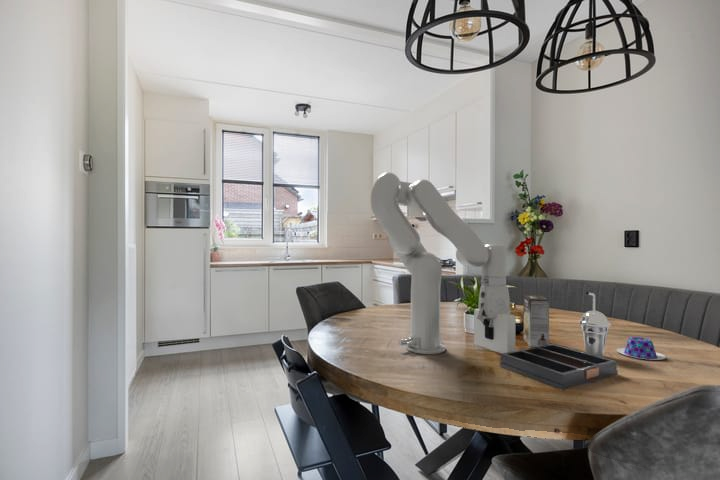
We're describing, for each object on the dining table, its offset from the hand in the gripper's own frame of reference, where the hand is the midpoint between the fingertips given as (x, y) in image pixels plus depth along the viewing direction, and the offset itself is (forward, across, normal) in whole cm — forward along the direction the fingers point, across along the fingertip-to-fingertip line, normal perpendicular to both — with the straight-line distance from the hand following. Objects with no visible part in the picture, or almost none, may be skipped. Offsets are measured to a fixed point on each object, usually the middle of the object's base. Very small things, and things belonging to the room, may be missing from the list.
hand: (493, 337), depth 118 cm
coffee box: (+4, +18, -2) cm, 18 cm away
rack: (+4, 0, -22) cm, 22 cm away
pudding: (+4, +36, -25) cm, 44 cm away
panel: (+4, 0, 0) cm, 4 cm away
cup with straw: (+4, +22, -19) cm, 29 cm away
